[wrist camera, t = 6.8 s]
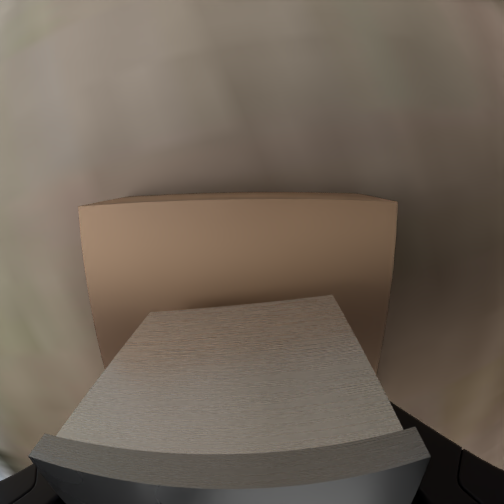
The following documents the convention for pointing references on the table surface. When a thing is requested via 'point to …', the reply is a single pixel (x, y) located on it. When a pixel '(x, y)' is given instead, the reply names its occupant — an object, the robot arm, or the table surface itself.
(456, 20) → the table surface
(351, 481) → the grey cube
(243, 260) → the tan block
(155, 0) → the table surface
